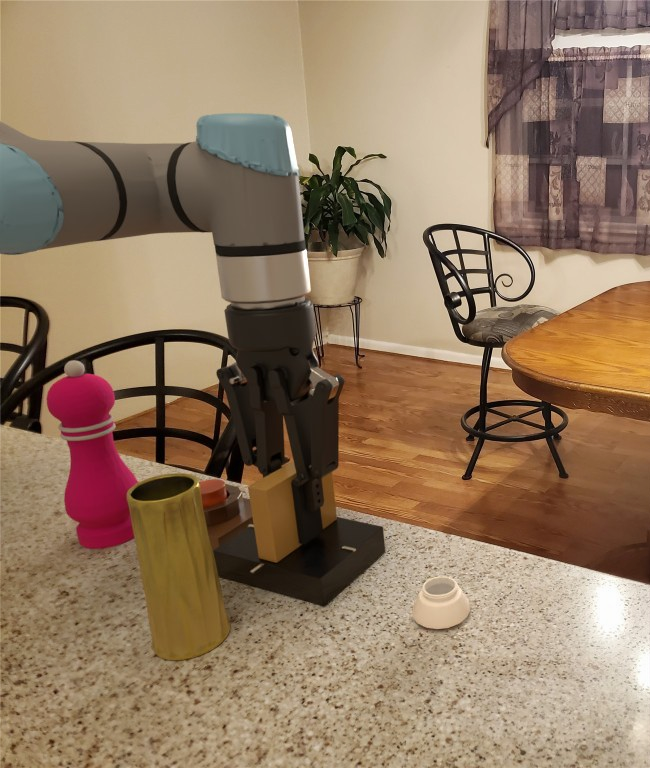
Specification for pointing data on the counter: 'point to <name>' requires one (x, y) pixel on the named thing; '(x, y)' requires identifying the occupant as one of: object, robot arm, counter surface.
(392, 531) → the counter surface
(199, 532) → the vase
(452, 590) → the white jar
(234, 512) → the drain block
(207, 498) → the button
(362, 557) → the black square base
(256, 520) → the yellow block
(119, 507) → the pepper mill
